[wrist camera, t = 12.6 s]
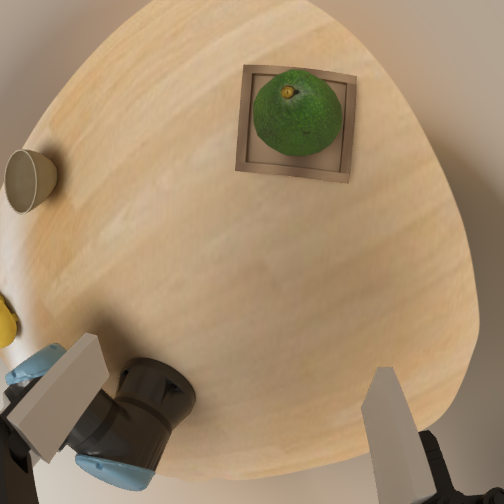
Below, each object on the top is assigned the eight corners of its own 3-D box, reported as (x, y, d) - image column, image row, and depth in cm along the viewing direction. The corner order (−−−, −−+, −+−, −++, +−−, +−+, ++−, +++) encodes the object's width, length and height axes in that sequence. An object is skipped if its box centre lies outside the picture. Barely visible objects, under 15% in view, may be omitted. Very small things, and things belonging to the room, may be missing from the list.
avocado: (308, 75, 26) (316, 31, 14) (346, 136, 27) (379, 125, 16) (245, 110, 28) (216, 85, 17) (283, 170, 30) (277, 179, 18)
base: (241, 169, 33) (235, 170, 29) (249, 74, 29) (243, 64, 25) (342, 180, 32) (348, 183, 28) (349, 84, 28) (356, 76, 24)
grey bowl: (73, 194, 37) (42, 204, 31) (40, 210, 39) (11, 221, 33) (61, 136, 34) (29, 138, 28) (29, 159, 36) (0, 164, 30)
